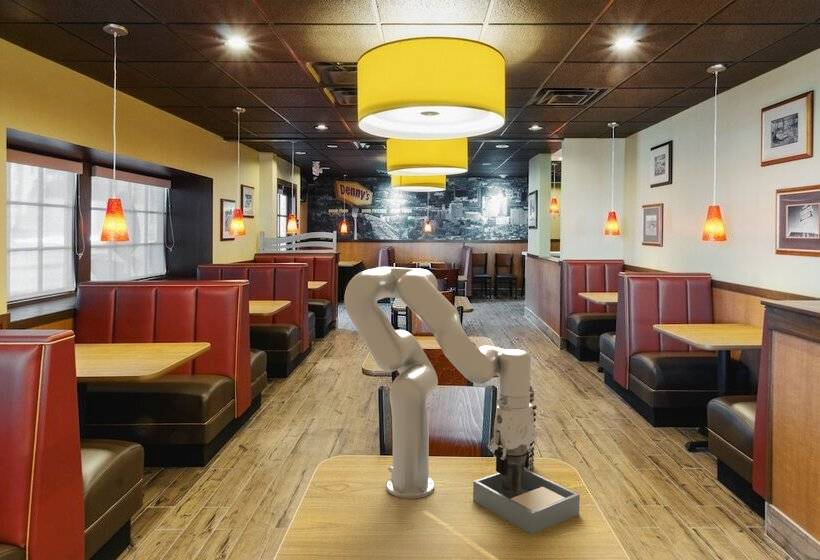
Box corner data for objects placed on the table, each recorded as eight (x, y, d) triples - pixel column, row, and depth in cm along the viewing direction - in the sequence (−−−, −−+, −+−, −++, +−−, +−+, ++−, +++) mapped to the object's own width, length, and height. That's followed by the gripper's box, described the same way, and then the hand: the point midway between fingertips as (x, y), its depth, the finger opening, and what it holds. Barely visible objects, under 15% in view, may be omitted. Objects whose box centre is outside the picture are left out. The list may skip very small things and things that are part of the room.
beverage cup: (526, 489, 154) (528, 414, 152) (526, 503, 147) (528, 424, 144) (498, 487, 155) (499, 412, 153) (496, 500, 148) (497, 422, 146)
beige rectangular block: (510, 514, 144) (510, 498, 144) (542, 501, 150) (542, 486, 150) (535, 528, 137) (535, 512, 137) (567, 515, 144) (567, 499, 143)
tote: (473, 503, 151) (473, 481, 151) (518, 487, 160) (519, 465, 160) (531, 539, 135) (532, 513, 134) (578, 518, 144) (579, 494, 143)
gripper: (498, 410, 140) (497, 484, 142) (549, 398, 150) (547, 466, 152) (477, 402, 146) (476, 472, 148) (527, 390, 156) (526, 456, 158)
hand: (512, 469), depth 150 cm, fingers closed on beverage cup, 6 cm apart
